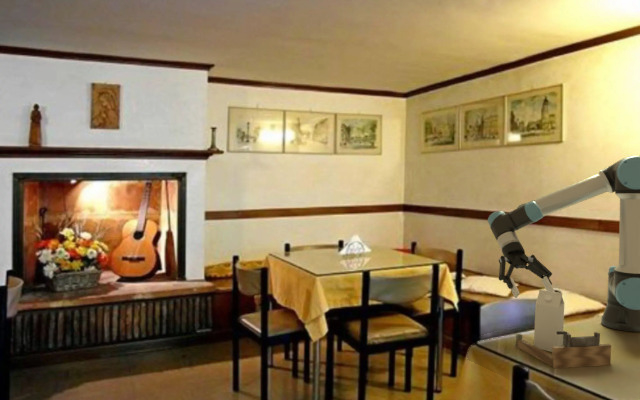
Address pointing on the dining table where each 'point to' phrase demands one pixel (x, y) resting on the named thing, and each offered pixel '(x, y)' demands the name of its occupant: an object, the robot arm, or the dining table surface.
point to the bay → (571, 351)
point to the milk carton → (548, 320)
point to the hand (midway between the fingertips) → (534, 294)
